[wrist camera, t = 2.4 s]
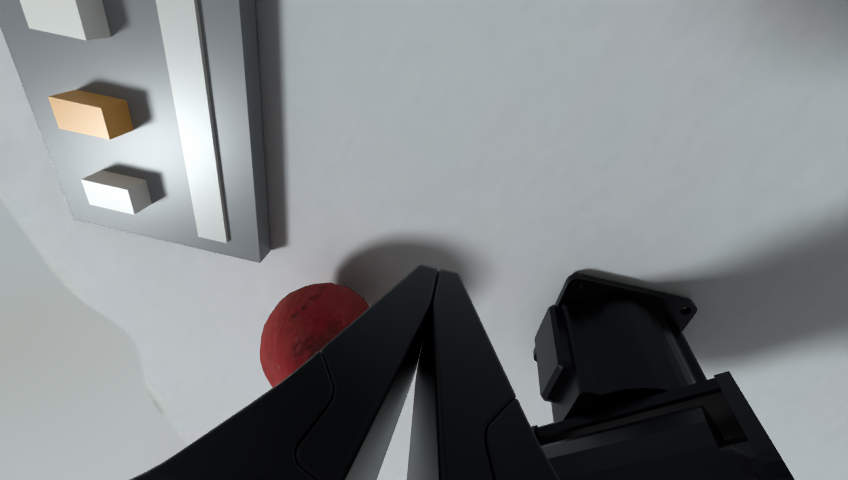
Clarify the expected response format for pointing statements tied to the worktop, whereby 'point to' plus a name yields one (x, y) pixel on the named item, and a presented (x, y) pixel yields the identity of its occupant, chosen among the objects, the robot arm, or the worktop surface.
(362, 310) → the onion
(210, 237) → the panel
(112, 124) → the block
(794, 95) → the worktop surface
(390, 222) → the worktop surface
